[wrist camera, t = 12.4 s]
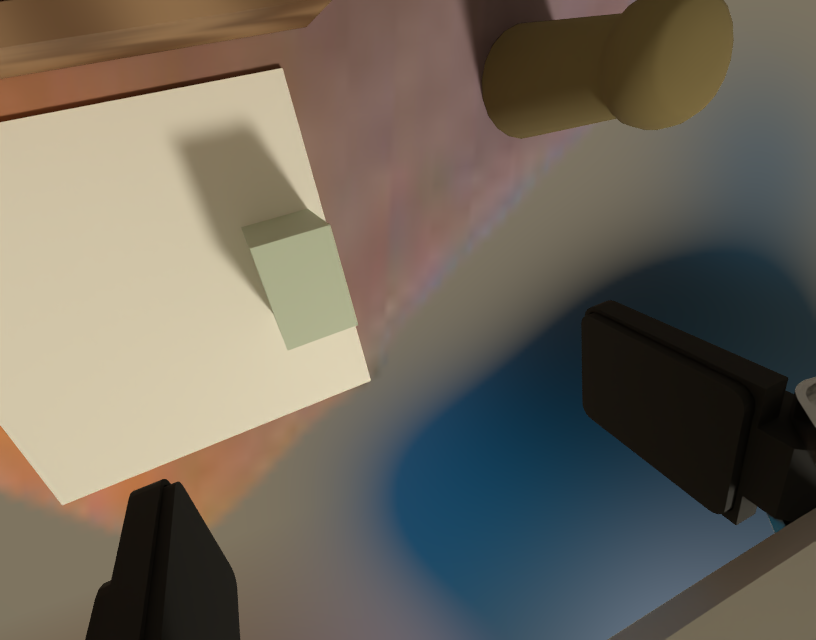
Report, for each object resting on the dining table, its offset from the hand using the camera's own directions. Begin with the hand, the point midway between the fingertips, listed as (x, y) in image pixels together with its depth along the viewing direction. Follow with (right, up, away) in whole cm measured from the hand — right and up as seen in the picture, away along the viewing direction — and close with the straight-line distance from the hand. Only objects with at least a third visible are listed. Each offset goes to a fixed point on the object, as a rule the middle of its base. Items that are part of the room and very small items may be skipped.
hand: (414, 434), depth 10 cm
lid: (-13, +4, +14) cm, 19 cm away
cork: (+7, +16, +17) cm, 24 cm away
